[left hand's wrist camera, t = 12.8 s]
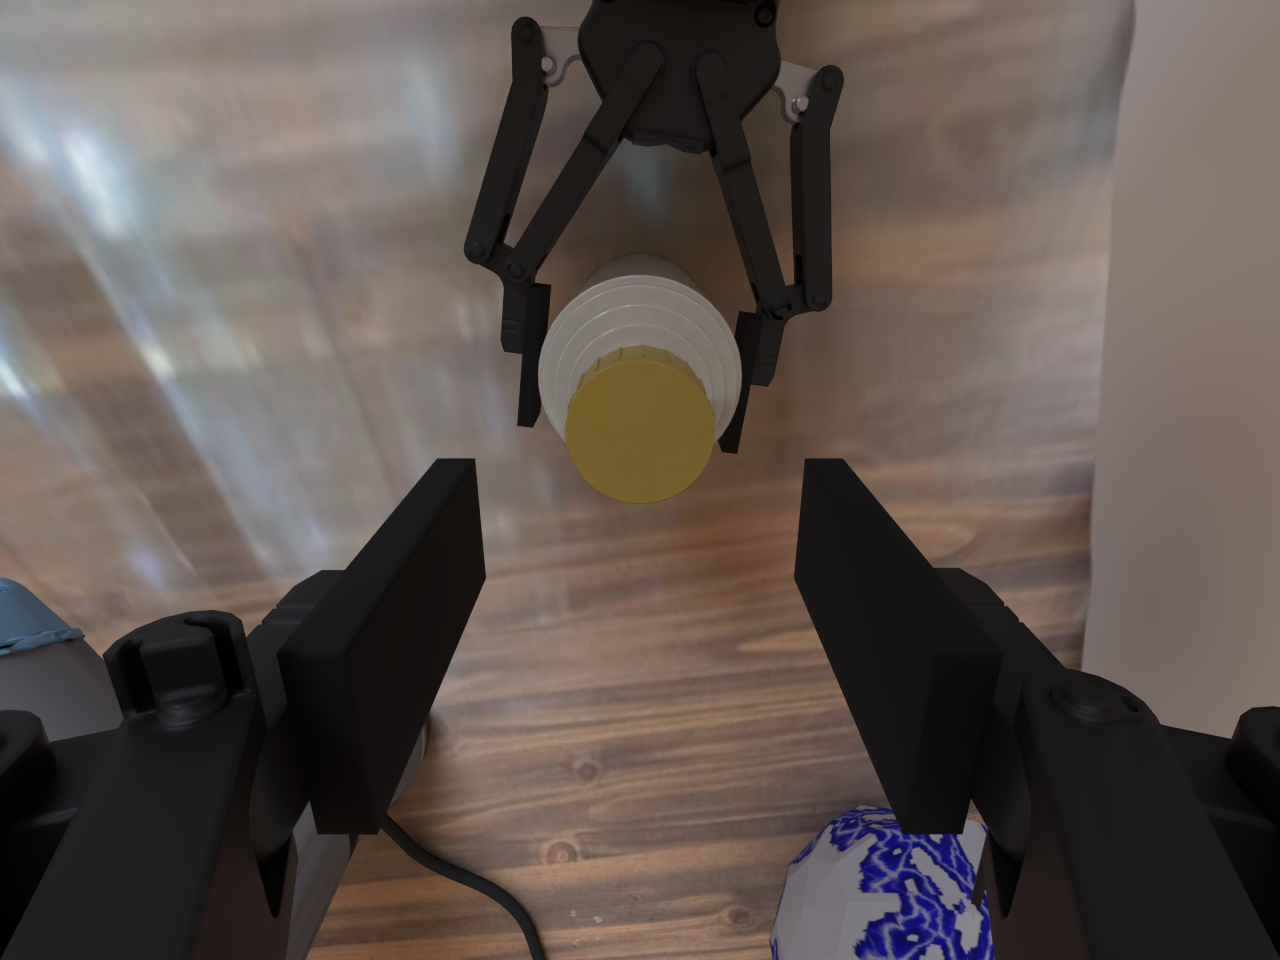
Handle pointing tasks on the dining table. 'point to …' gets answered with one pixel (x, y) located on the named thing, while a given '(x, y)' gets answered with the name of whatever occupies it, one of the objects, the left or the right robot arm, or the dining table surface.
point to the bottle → (639, 333)
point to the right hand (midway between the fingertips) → (628, 431)
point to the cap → (640, 425)
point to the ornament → (883, 894)
